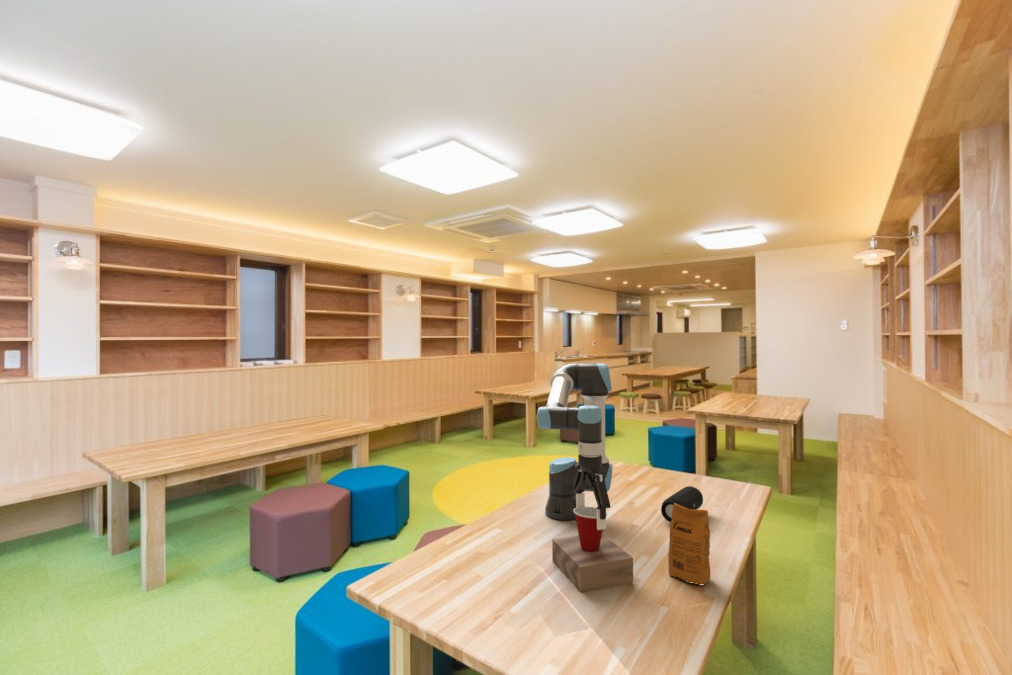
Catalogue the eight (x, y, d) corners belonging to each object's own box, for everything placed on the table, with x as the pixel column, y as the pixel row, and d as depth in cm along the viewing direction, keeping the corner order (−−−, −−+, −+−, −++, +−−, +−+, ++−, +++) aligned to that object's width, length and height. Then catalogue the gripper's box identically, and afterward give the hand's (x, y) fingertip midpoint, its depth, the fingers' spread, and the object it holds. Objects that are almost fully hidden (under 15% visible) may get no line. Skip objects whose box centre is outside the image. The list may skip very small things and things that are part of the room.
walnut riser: (552, 563, 153) (552, 539, 153) (599, 555, 158) (599, 531, 158) (580, 594, 134) (580, 567, 134) (633, 583, 139) (632, 557, 139)
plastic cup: (613, 547, 147) (613, 509, 147) (596, 559, 139) (596, 519, 139) (584, 537, 154) (584, 502, 154) (566, 548, 146) (566, 510, 146)
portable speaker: (683, 528, 181) (682, 502, 181) (659, 521, 188) (658, 497, 188) (705, 510, 200) (704, 487, 200) (682, 504, 207) (682, 482, 207)
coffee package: (675, 564, 152) (675, 497, 152) (714, 576, 143) (714, 506, 143) (663, 575, 144) (662, 505, 144) (703, 589, 136) (702, 515, 136)
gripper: (562, 447, 157) (563, 508, 157) (599, 465, 133) (600, 538, 133) (582, 445, 159) (582, 506, 159) (621, 463, 136) (622, 534, 135)
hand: (590, 520), depth 146 cm, fingers open, 13 cm apart
